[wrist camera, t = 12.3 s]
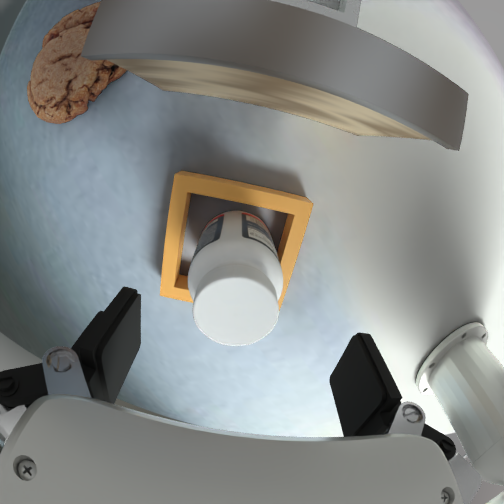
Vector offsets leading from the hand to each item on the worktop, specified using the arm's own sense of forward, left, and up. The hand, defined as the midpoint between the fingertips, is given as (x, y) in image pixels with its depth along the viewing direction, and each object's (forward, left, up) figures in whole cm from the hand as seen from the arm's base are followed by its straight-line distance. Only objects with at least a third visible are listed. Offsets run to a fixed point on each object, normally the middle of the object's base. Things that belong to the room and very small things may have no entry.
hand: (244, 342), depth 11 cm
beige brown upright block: (+1, -11, -10) cm, 15 cm away
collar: (+1, 0, -10) cm, 10 cm away
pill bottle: (+1, 0, -11) cm, 11 cm away
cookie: (+16, -13, -11) cm, 23 cm away
